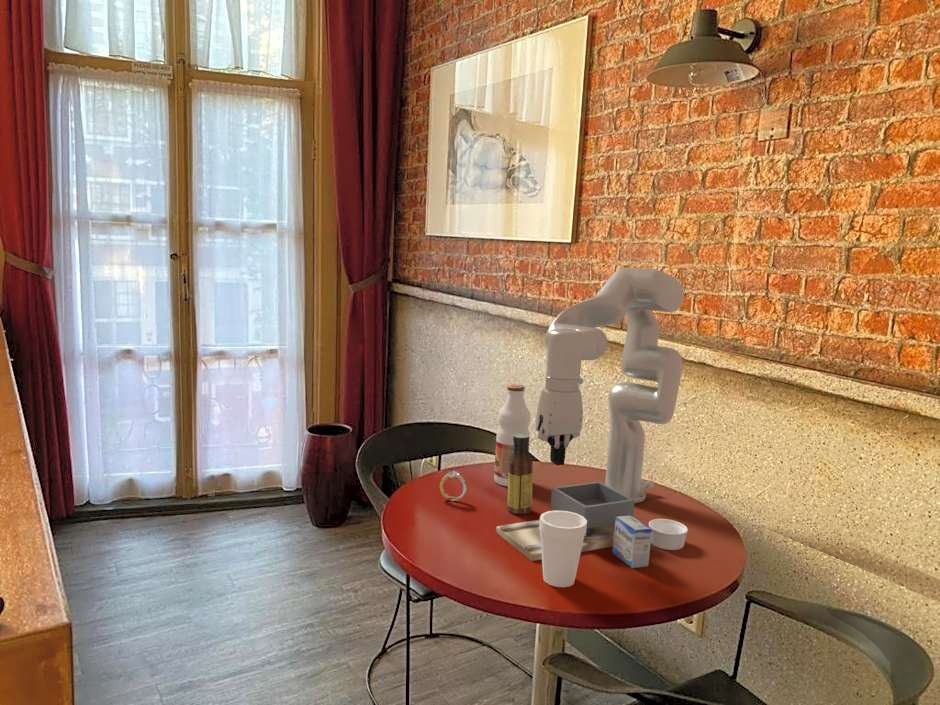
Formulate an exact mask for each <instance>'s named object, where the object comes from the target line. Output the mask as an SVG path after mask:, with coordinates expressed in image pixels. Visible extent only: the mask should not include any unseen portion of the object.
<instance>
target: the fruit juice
mask: <svg viewBox="0 0 940 705" xmlns="http://www.w3.org/2000/svg"><path fill="white" fill-rule="evenodd" d="M506 387H507V388H506V390H507V391H506V392H507V397H506V400H505V402H504V404H503V406H502V407H501V408H500V409H499V411H498V415H497V419H498V424H499V425H498V428H497V431H496V436H495V437H496V438H495V454H494V456H495V457H494V459H495V460H494V470H493V472H494V474H493V479H494V480H493V481H494V483H496V484H498V485H500V486H503V487H508V470H509V459H510V457H511V455H512V454H513V449H514V441H513V435H515V434H526V435H529V444H528V450H529V452H528V453H529V454H530V442H531V441H530V439H531V438H530V437H531V436H530V435H531V434H530V431H529V426H530V422H531V413H530V411H529V409H528V407H527V405H526V402H525V397H524V393H525V390H526V387H525V386H524V385H523V384H516V383H515V384H511V383H510V384H508V385H507V386H506Z"/></svg>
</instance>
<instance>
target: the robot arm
mask: <svg viewBox="0 0 940 705" xmlns="http://www.w3.org/2000/svg"><path fill="white" fill-rule="evenodd" d="M684 297H685V292H684V287H683V285H682V284H681V281H680V280H678V279H677V278H675V277H674V276H672V275H670V274H668V273H666V272H664V271H662V270H659V269H654V268H653V269H652V268H640V267H622V268H619V269H617V270H615V271H614V273H612V275H611V276H610V277H608V279H607V281H606V282H605V283H604V285H602V287H601V288H600V289H599V290H598V292H597V293H596V295H594V296H592V297H590V298H587V299H584V300H582V301H580V302H578V303H575V304H573V305H571V306H569V307H567V308H565V309H563V311H561V312H560V313H559V314H558V315H557V316H556V317H555V319H554V320H553V321H552V322H551V324H550V326H549V327H548V329H547V331H546V334H545V337H544V344H545V348H546V349H547V353H546V354H547V355H546V356H547V358H546V371H545V374H546V375H545V385H544V386H545V387H544V389H541V392H540V396H539V400H538V404H537V409H536V416H535V430H536V431H537V432H538V434H537V439H538V440H540V441H542V442H546V443H547V444H548V445H549V446H550V456H549V459H550V462H551V463H552V464H554V465H556V466H560V465H561V466H564V465H565V459H566V452H567V451H566V450H567V448H568V447H569V445H570V442H572V440H573V439H576V438H578V437H580V436H581V431H582V428H583V418H584V417H583V414H584V412H583V410H584V407H583V396H582V391H581V390H580V387H581V385H582V384H584V379H583V378H582V377H581V370H582V368H581V366H582V361H595V360H598V359H600V358H601V357H603V355H604V354H605V353H606V352H607V348H608V341H609V340H608V338H607V335H606V333H605V332H604V331H603V330H601V329H599V328H602V327H607V326H610V325H611V326H612V325H615V324H616V323H619V322H621V320H622V319H623V317H624V316H625V317H626V321H627V323H626V324H627V328H626V336H625V340H624V346H623V351H622V355H621V362H620V364H621V365H620V366H621V367H620V368H621V372H622V373H623V375H624V376H626V377H629V378H632V379H636V380H637V379H638V380H642V381H649V382H655V383H657V387H656V386H650V385H645V384H641V383H633V382H624V381H623V382H619V383H616V384H614V385H613V386H612V387H611V389H609V390H610V391H609V393H608V410H609V433H608V434H609V435H608V447H607V458H606V470H605V482H604V484H605V485H607V486H609V487H611V488H613V489H614V490H616V491H618V492H620V493H622V494H624V495H626V496H628V497H630V498H631V499H633V500H635V504H640V503H642V502H643V501H645V500H646V496H647V495H646V493H645V491H644V490H645V489H649V488H653V487H654V486H655V482H654V481H653V480H646V481H645V480H644V478H642V474H643V473H642V472H643V463H644V454H645V452H644V451H645V443H646V442H645V441H646V434H645V431H644V430H645V429H644V428H643V425H642V424H641V422H645V423H650V424H656V425H667V424H668V423H670V422H671V421H672V418H674V417H673V416H674V413H675V410H676V403H677V399H678V393H679V388H680V382H681V377H682V370H683V360H682V359H683V358H682V356H681V353H680V352H679V351H678V350H677V349H675V348H672V347H668V346H660V345H658V342H659V335H660V325H659V321H658V319H657V318H656V316H655V314H654V312H663V313H674V312H676V311H678V310H679V309H680V308H681V306H682V305H683V302H684V299H685V298H684ZM653 311H654V312H653Z"/></svg>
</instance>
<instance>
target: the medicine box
mask: <svg viewBox="0 0 940 705" xmlns="http://www.w3.org/2000/svg"><path fill="white" fill-rule="evenodd" d="M651 534H652V529H650V528H649V526H647V525H646V524H645V523H643V522H641V521H640V520H638V519H637V518H636V517H635V516H634V515H633V516H620V517H616V521H615V530H614V540H613V546H612V551H611V552H612V554H613V556H615V557H617V558H618V559H619V560H620V561H621V562H623V563H625V564H626V565H627V566H629V568H631V569H636V568H645V567H649V561H650V552H651V545H652V543H651Z"/></svg>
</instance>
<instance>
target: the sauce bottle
mask: <svg viewBox="0 0 940 705" xmlns="http://www.w3.org/2000/svg"><path fill="white" fill-rule="evenodd" d="M513 441H514V449H513V454H512V455H511V457H510V459H509V470H508V486H507V509H508V511H509V512H510V513H512V514H515V515H516V514H517V515H528V514H530V513H531V512H532V505H533V479H534V477H533V476H534V474H533V459H532V458H531V454H530V449H529V450H528V444H529V445H530V442H529V435H526V434H515V435H513ZM528 452H529V453H528Z"/></svg>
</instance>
